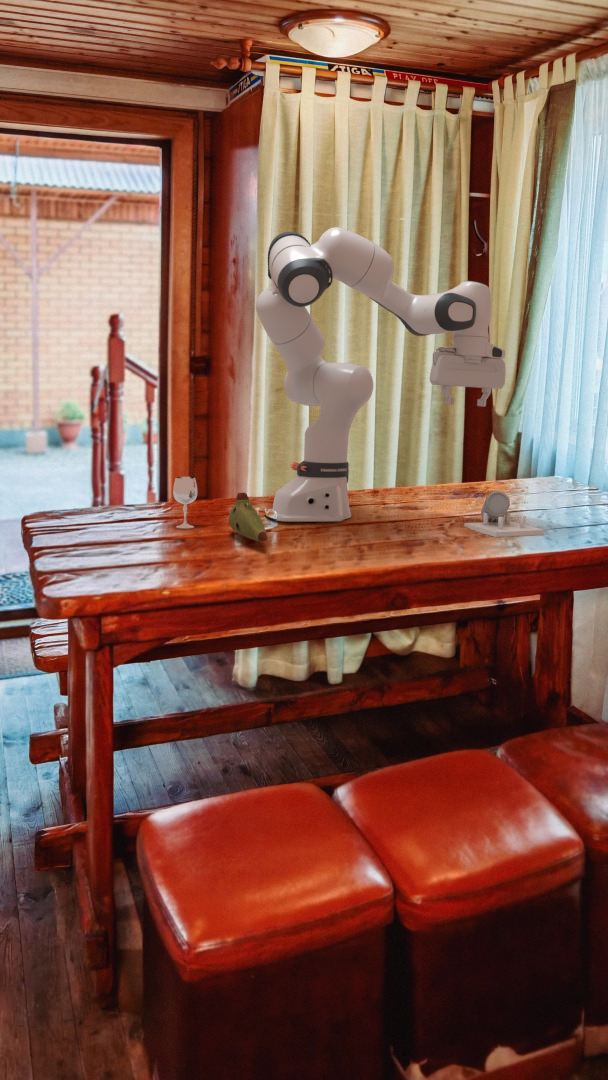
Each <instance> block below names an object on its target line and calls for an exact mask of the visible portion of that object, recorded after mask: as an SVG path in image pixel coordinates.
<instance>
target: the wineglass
mask: <svg viewBox="0 0 608 1080" xmlns="http://www.w3.org/2000/svg"><path fill="white" fill-rule="evenodd" d="M172 493H173V498H174V500H175V501H176V502H178V503H180V504H182V505H183V507H182V510H183V516H184V518H183V523H181V524H180V525H179V524H178V525H175V528H176V529H194V528H195V526H194V525H191V524H189V523H188V522H187V513H188V512H187V511H188V506H187V505H188V504H191V503H193V502H194V501H195V500H196V499H197V496H198V485H197V480H196V477H193V476H176V477H175V479H174V483H173V492H172Z"/></svg>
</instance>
